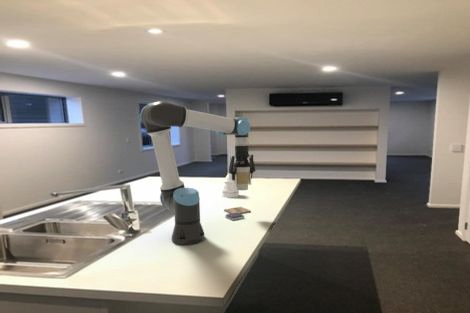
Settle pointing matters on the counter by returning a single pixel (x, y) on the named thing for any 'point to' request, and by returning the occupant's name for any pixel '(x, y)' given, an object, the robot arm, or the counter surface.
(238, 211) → the board
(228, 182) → the white tiered cone
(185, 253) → the counter surface
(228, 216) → the ink pad
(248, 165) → the coffee cup
